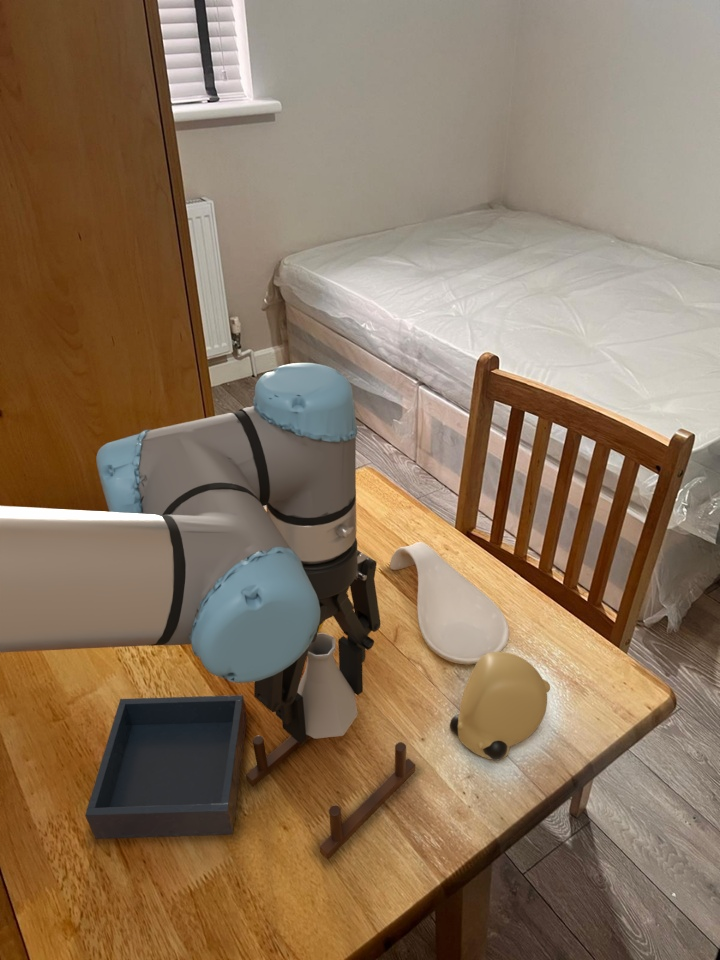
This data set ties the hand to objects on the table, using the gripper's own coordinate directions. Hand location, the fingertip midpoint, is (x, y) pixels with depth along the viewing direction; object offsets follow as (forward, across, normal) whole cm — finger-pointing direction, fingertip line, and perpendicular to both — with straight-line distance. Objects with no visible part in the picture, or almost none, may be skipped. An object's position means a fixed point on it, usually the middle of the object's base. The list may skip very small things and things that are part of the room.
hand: (323, 709), depth 76 cm
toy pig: (+12, +18, -10) cm, 24 cm away
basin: (+12, -12, +13) cm, 21 cm away
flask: (+1, 0, 0) cm, 1 cm away
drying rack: (+12, 0, 0) cm, 12 cm away
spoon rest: (+12, +28, +6) cm, 31 cm away
